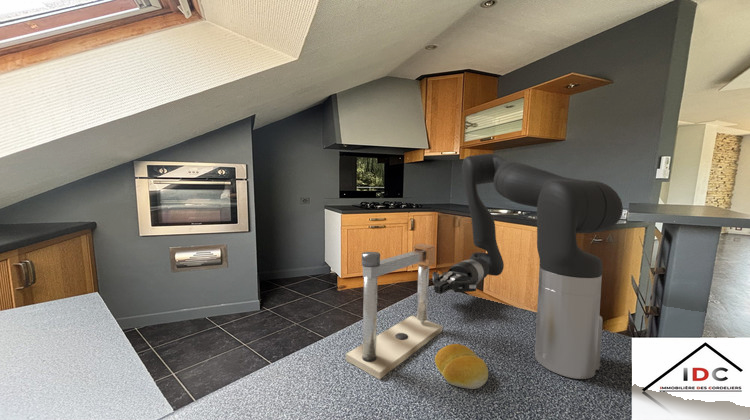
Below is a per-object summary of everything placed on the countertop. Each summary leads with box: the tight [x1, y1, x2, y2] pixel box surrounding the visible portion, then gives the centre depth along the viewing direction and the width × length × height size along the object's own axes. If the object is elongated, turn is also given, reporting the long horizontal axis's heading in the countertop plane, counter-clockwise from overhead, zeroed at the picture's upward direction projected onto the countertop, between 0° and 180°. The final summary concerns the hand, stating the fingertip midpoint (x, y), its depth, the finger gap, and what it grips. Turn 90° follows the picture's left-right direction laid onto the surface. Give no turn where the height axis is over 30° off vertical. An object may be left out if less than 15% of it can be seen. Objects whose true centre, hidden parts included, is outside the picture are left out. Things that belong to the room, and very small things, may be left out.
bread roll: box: [434, 343, 489, 390], centre depth 49 cm, size 8×9×4 cm
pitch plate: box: [345, 315, 443, 380], centre depth 58 cm, size 22×8×1 cm, turn 139°
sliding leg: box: [412, 243, 436, 323], centre depth 64 cm, size 3×4×17 cm
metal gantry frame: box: [361, 249, 426, 361], centre depth 57 cm, size 22×3×19 cm, turn 139°
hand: (437, 289), depth 70 cm, fingers closed
